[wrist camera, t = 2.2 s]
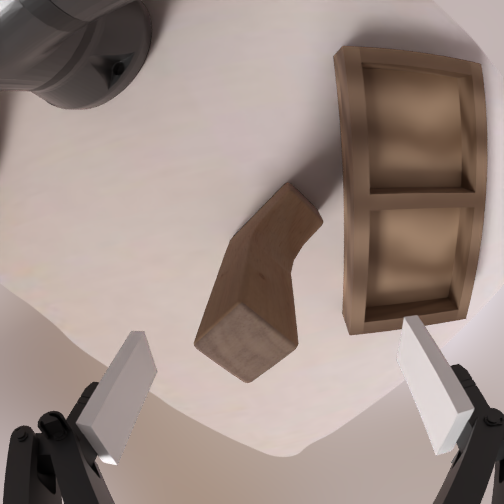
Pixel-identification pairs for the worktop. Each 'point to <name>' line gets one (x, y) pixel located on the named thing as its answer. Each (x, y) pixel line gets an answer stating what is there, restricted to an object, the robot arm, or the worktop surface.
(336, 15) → the worktop surface
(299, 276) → the worktop surface
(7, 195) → the worktop surface
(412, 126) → the tray
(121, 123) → the worktop surface
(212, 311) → the wooden block
